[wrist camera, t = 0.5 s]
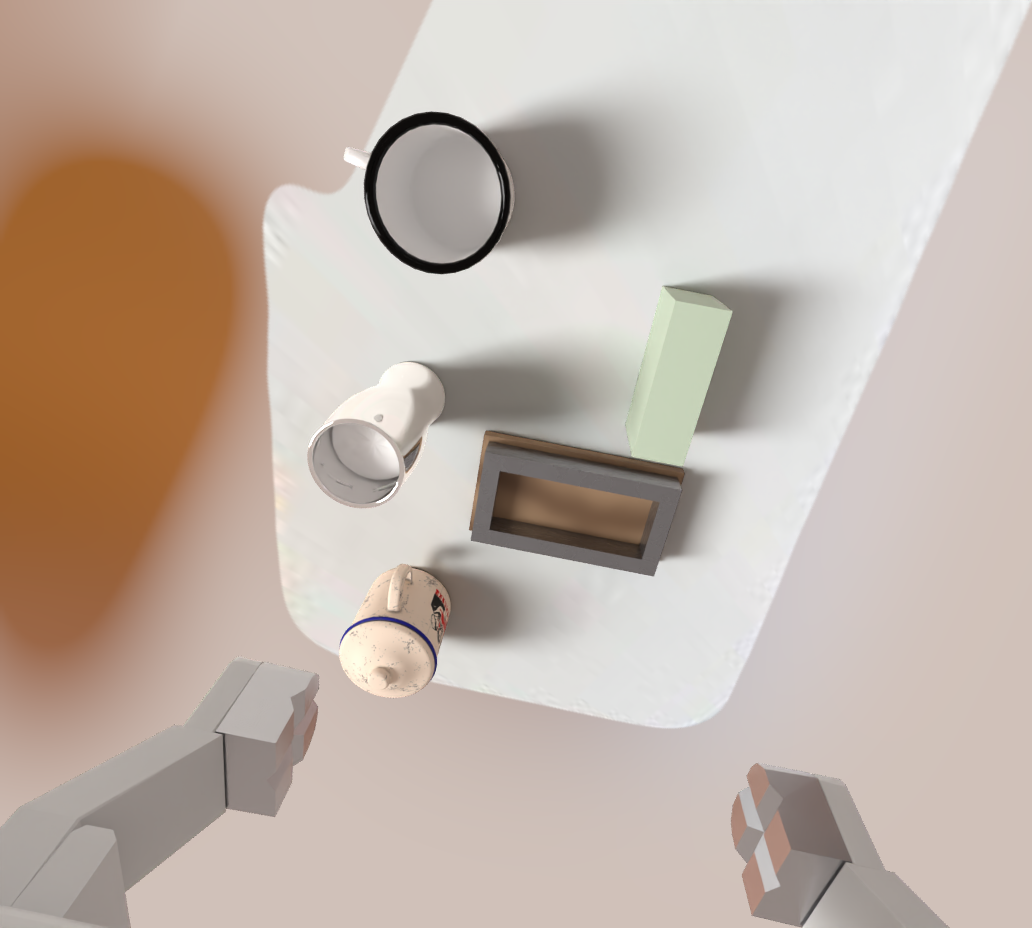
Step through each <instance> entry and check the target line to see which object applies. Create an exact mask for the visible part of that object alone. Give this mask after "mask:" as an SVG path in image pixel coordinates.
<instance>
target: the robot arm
mask: <svg viewBox="0 0 1032 928" xmlns="http://www.w3.org/2000/svg"><path fill="white" fill-rule="evenodd" d="M318 689H319V675H318V674H316V673H312V672H308V671H303V670H299V669H295V668H290V667H286V666H281V665H277V664H273V663H269V662H263V661H258V660H254V659H249V658H245V657H240V656H238V657H236V658H235V659H234V660H232V661H231V662H230V663H229V664H228V666H227V667H226V668H225V670H224V671H223V672H222V674H221V675H220V676H219V678H218V679H217V681H216V682H215V683H214V684H213V686H212V687H211V688H210V690H209V691H208V693H207V694H206V695H205V697H204V698H203V699H202V701H201V702H200V704H199V705H198V706H197V707H196V709H195V710H194V711H193V713H192V714H191V715H190V717H189V718H188V719H187V721H186V722H185V724H184V725H183V726H180V725H173V726H171V727H169V728H167V729H165V730H163V731H162V732H160V733H157V734H156V735H154V736H152V737H150V738H148V739H146V740H144V741H143V742H141V743H139V744H137V745H135V746H133V747H131V748H129V749H127V750H126V751H124V752H122V753H120V754H118V755H116V756H115V757H112V758H111V759H109V760H107V761H105V762H103V763H101V764H99V765H98V766H96V767H94V768H92V769H90V770H88V771H86V772H85V773H82V774H80V775H79V776H77V777H75V778H73V779H71V780H69V781H67V782H65V783H64V784H62V785H60V786H58V787H56V788H54V789H53V790H51V791H49V792H47V793H45V794H43V795H41V796H39V797H37V798H36V799H34V800H32V801H30V802H28V803H26V804H24V805H22V806H20V807H19V808H18V809H17V810H16V811H15V812H14V814H12V815H11V817H10V818H9V819H8V820H7V821H6V822H5V824H3V825H2V826H1V828H0V928H131V926H130V920H129V914H128V907H127V901H126V895H125V892H126V891H127V890H129V889H130V888H131V887H132V886H133V885H135V884H136V883H137V882H139V881H140V880H141V879H142V878H144V877H145V876H146V875H147V874H149V873H150V872H151V871H152V870H153V869H155V868H156V867H157V866H159V865H160V864H161V863H162V862H164V861H165V860H166V859H167V858H169V857H170V856H171V855H172V854H173V853H175V852H176V851H177V850H178V849H180V848H181V847H182V846H184V845H185V844H186V843H187V842H188V841H190V840H191V839H192V838H194V837H195V836H196V835H197V834H199V833H200V832H201V831H202V830H204V829H205V828H206V827H207V826H209V825H210V824H211V823H212V822H214V821H215V820H216V819H217V818H218V817H220V816H221V815H222V814H223V813H225V811H226V809H232V810H238V811H243V812H249V813H255V814H261V815H267V816H272V817H275V816H276V814H277V812H278V810H279V808H280V806H281V804H282V801H283V799H284V798H285V795H286V793H287V791H288V789H289V787H290V785H291V783H292V770H293V766H294V765H296V764H297V763H299V762H300V761H302V760H303V758H304V756H305V754H306V752H307V750H308V747H309V745H310V742H311V739H312V736H313V733H314V730H315V726H316V721H317V714H318V706H317V704H316V703H315V702H314V700H313V699H314V697H315V695H316V693H317V691H318ZM747 779H748V783H749V786H750V787H748V788H746V789H744V790H742V791H740V792H739V793H738V795H737V797H736V799H735V801H734V804H733V808H732V817H731V827H732V836H733V840H734V845H735V849H736V850H737V851H738V853H739V854H740V855H741V856H742V858H743V859H744V860H745V861H746V863H747V865H746V867H745V869H744V871H743V874H742V878H743V882H744V886H745V890H746V893H747V898H748V902H749V906H750V910H751V914H752V916H756V917H760V918H764V919H768V920H773V921H777V922H781V923H785V924H790V925H794V926H798V927H802V928H949V927H948V926H947V925H946V924H945V923H944V922H943V921H942V920H941V919H940V918H939V917H938V916H937V915H936V914H935V913H934V912H933V911H932V910H931V909H930V908H929V907H928V906H927V905H926V904H925V903H924V902H923V901H922V900H921V899H920V898H919V897H918V896H917V895H916V894H915V893H914V892H913V891H912V890H911V889H910V888H909V887H908V886H907V885H906V884H905V883H904V882H903V881H902V880H901V879H900V878H899V877H898V876H897V875H896V874H895V873H894V872H890V871H886V870H885V868H884V866H883V864H882V862H881V860H880V857H879V855H878V853H877V851H876V849H875V847H874V844H873V842H872V840H871V838H870V836H869V834H868V831H867V829H866V827H865V825H864V823H863V821H862V819H861V816H860V814H859V812H858V810H857V808H856V806H855V803H854V802H853V799H852V797H851V795H850V793H849V791H848V788H847V786H846V785H845V784H844V783H843V782H842V781H841V780H840V779H837V778H831V777H826V776H821V775H816V774H810V773H807V772H802V771H797V770H791V769H787V768H781V767H776V766H770V765H766V764H760V763H756V764H755V765H753V766H752V767H751V769H750V771H749V773H748V775H747Z"/></svg>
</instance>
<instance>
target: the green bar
mask: <svg viewBox="0 0 1032 928" xmlns="http://www.w3.org/2000/svg"><path fill="white" fill-rule="evenodd" d="M732 313H733V311H732V310H730V309H729V308H728V307H726V306H725V305H724V304H722V303H721V302H720V301H719V300H717V299H716V298H715V297H713V296H712V295H707V294H701V293H696V292H691V291H686V290H680V289H675V288H670V287H665V286H662V290H661V293H660V297H659V301H658V305H657V308H656V312H655V316H654V319H653V323H652V327H651V331H650V334H649V338H648V342H647V346H646V349H645V353H644V357H643V361H642V364H641V368H640V372H639V375H638V379H637V383H636V387H635V390H634V394H633V398H632V402H631V405H630V409H629V413H628V417H627V420H626V424H625V426H626V431H627V436H628V441H629V445H630V450H631V455H632V457H636V458H641V459H646V460H651V461H656V462H661V463H666V464H672V465H677V466H682V467H683V465H684V462H685V459H686V455H687V452H688V449H689V446H690V443H691V440H692V437H693V434H694V431H695V428H696V424H697V421H698V418H699V415H700V412H701V409H702V406H703V403H704V400H705V396H706V393H707V390H708V387H709V384H710V381H711V378H712V375H713V372H714V369H715V365H716V362H717V359H718V356H719V353H720V350H721V347H722V344H723V341H724V338H725V334H726V331H727V328H728V325H729V322H730V319H731V316H732Z"/></svg>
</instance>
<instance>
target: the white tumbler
mask: <svg viewBox="0 0 1032 928" xmlns="http://www.w3.org/2000/svg"><path fill="white" fill-rule="evenodd" d="M444 404H445V392H444V388H443V385H442V383H441V381H440V379H439V378H438V376H437V375H436V374H435V373H434V372H433V371H432V370H430V369H429V368H427V367H426V366H424V365H422V364H419V363H415V362H402V363H398V364H395V365H393V366H391V367H390V368H388V369H387V370H386V371H385V372H384V374H383V375H382V377H381V378H380V380H379V383H378V385H376V386H373V387H370V388H367V389H365V390H363V391H361V392H359V393H357V394H355V395H353V396H351V397H350V398H349V399H347V400H346V401H345V402H343V403H342V404H341V405H340V406H339V407H338V408H337V409H336V410H335V411H334V412H333V413H332V414H331V415H330V416H329V417H328V419H327V420H326V421H325V422H324V424H323V425H322V426H321V428H320V429H319V430H318V431H317V432H316V433H315V434H314V436H313V437H312V439H311V441H310V444H309V447H308V454H307V458H308V466H309V469H310V472H311V475H312V477H313V479H314V480H315V482H316V483H317V485H318V486H319V487H320V489H321V490H322V491H323V492H324V493H325V494H327V495H328V496H329V497H331V498H332V499H334V500H335V501H337V502H339V503H341V504H344V505H346V506H350V507H355V508H372V507H376V506H379V505H382V504H384V503H386V502H387V501H389V500H390V499H391V498H393V497H394V496H395V494H396V493H397V492H398V490H399V489H400V487H401V486H402V485H403V484H404V483H405V481H406V480H407V479H408V478H409V476H410V475H411V473H412V472H413V470H414V469H415V467H416V466H417V464H418V462H419V460H420V458H421V456H422V454H423V451H424V448H425V444H426V441H427V435H428V428H429V425H430V424H432V423H433V422H434V421H435V420H436V419H437V418H438V417H439V416H440V414H441V413H442V411H443V408H444Z"/></svg>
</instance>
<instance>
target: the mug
mask: <svg viewBox="0 0 1032 928" xmlns="http://www.w3.org/2000/svg"><path fill="white" fill-rule="evenodd" d="M344 160H345V161H347V162H349V163H351V164H353V165H355V166H357V167H359V168H362V169H364V170H366V173H365V179H364V199H365V204H366V209H367V214H368V217H369V219H370V222H371V225H372V227H373V229H374V231H375V233H376V234H377V236H378V238H379V239H380V241H381V242H382V243H383V245H384V246H385V247H386V248H387V249H388V250H389V252H390V253H391V254H393V255H394V256H395V257H396V258H398V259H399V260H400V261H401V262H403V263H405V264H407V265H408V266H410V267H412V268H414V269H417V270H420V271H423V272H427V273H434V274H448V273H456V272H459V271H462V270H465V269H468V268H470V267H472V266H474V265H475V264H477V263H479V262H481V261H482V260H483V259H484V258H485V257H486V256H487V255H488V254H490V253H491V252H492V250H493V249H494V248H495V246H496V245H497V244H498V242H499V241H500V239H501V237H502V235H503V233H504V231H505V229H506V227H507V225H508V223H509V221H510V219H511V216H512V212H513V208H514V198H515V193H514V183H513V180H512V176H511V173H510V170H509V168H508V166H507V164H506V162H505V161H504V159H503V158H502V157H501V155H500V153H499V151H498V149H497V148H496V146H495V145H494V144H493V142H492V141H491V140H490V138H489V137H488V136H487V135H486V134H485V133H484V132H482V131H481V130H480V129H479V128H478V127H477V126H476V125H474V124H472V123H470V122H469V121H467V120H465V119H464V118H461V117H458V116H455V115H452V114H449V113H441V112H425V113H418V114H414V115H412V116H409V117H407V118H404V119H402V120H400V121H399V122H397V123H396V124H395V125H393V126H392V127H390V128H389V129H388V130H387V131H386V132H385V134H384V135H383V136H382V137H381V138H380V139H379V141H378V142H377V144H376V146H375V147H374V149H373V151H372V153H370V152H367V151H364V150H360V149H356V148H349V147H347V148H346V150H345V154H344Z"/></svg>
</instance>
